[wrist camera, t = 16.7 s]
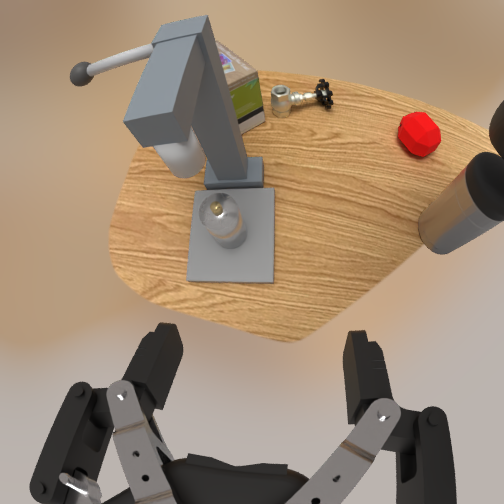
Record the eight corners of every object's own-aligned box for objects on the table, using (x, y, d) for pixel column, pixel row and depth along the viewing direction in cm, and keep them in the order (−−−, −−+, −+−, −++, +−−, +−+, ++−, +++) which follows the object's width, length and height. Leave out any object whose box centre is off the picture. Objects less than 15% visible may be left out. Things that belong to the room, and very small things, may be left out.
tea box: (193, 106, 57) (172, 59, 43) (231, 86, 58) (217, 38, 44) (224, 146, 53) (205, 94, 39) (267, 122, 53) (259, 68, 39)
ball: (413, 125, 50) (424, 102, 42) (436, 153, 47) (450, 132, 40) (389, 136, 49) (398, 112, 42) (413, 165, 47) (427, 144, 40)
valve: (276, 125, 53) (331, 114, 52) (274, 103, 47) (335, 92, 46) (268, 104, 55) (320, 94, 54) (265, 82, 49) (322, 72, 48)
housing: (236, 212, 47) (223, 180, 36) (253, 237, 46) (243, 211, 35) (209, 229, 47) (188, 201, 36) (225, 255, 46) (207, 233, 34)
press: (273, 283, 45) (239, 190, 14) (147, 280, 48) (-1, 216, 17) (274, 165, 50) (252, 7, 20) (162, 172, 53) (73, 56, 23)
